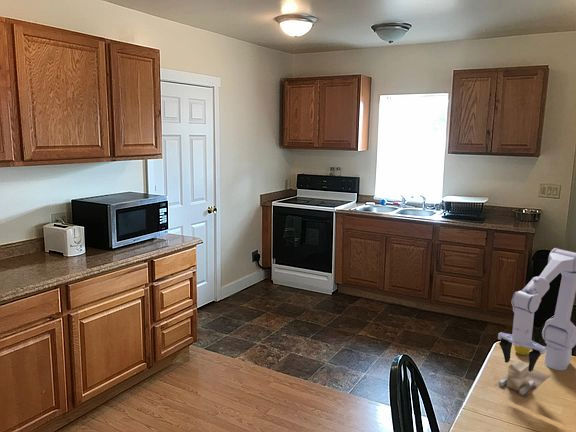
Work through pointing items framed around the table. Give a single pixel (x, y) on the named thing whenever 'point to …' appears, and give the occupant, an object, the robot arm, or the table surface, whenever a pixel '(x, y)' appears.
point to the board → (532, 383)
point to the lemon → (521, 350)
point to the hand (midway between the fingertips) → (518, 365)
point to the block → (517, 375)
